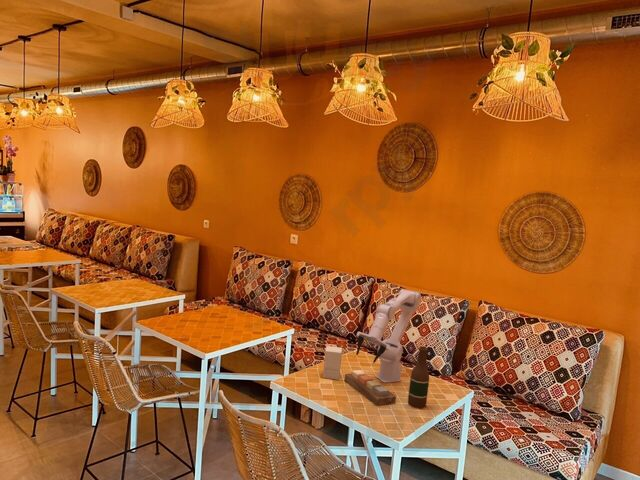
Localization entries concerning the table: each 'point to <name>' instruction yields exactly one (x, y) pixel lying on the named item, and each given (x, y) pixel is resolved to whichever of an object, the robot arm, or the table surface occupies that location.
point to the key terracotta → (365, 379)
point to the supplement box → (332, 362)
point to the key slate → (381, 391)
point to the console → (369, 392)
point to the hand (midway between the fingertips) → (365, 358)
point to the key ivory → (358, 374)
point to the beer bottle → (419, 381)
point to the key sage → (372, 384)
